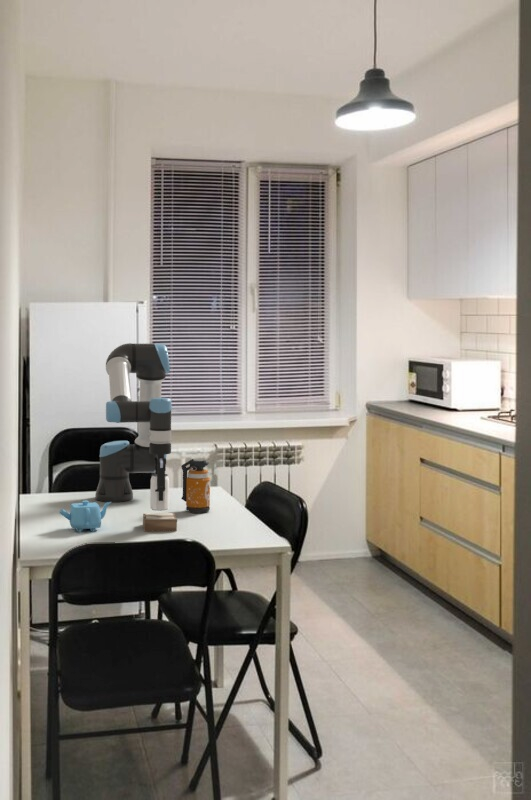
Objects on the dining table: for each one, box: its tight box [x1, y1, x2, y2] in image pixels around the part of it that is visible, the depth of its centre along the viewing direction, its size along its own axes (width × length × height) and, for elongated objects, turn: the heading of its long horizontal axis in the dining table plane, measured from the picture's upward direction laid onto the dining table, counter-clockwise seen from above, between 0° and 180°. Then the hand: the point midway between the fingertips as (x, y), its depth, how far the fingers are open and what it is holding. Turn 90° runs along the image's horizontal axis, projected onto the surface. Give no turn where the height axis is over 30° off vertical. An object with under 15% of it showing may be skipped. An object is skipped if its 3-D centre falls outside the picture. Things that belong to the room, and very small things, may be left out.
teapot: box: [58, 500, 113, 533], centre depth 312 cm, size 18×14×10 cm
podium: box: [142, 512, 178, 533], centre depth 316 cm, size 11×11×4 cm
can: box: [149, 473, 170, 511], centre depth 315 cm, size 6×6×12 cm
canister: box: [180, 458, 211, 514], centre depth 345 cm, size 9×11×20 cm
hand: (159, 507), depth 316 cm, fingers closed on can, 6 cm apart
